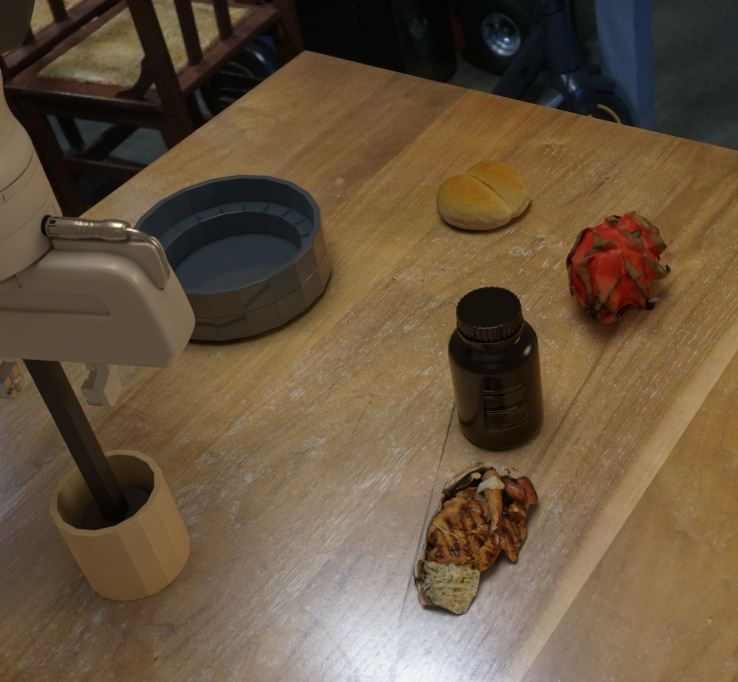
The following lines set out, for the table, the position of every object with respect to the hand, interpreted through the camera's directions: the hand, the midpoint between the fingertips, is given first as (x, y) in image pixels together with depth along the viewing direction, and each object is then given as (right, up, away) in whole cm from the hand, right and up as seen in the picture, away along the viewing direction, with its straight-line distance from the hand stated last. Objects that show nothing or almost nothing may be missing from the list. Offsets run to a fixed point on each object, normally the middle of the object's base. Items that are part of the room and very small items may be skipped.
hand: (57, 395), depth 68 cm
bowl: (+3, +9, +34) cm, 36 cm away
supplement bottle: (+27, -3, +20) cm, 34 cm away
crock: (+1, -13, +12) cm, 17 cm away
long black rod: (+1, -12, +12) cm, 17 cm away
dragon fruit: (+37, +7, +29) cm, 48 cm away
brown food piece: (+25, -11, +11) cm, 30 cm away
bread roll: (+25, +16, +41) cm, 51 cm away
